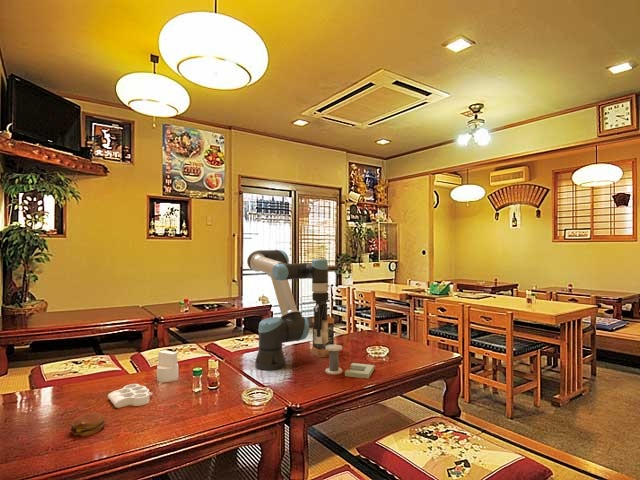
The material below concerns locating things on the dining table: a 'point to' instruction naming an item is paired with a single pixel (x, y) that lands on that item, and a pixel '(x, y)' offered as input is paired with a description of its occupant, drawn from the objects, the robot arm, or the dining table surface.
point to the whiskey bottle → (320, 349)
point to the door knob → (334, 359)
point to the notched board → (360, 374)
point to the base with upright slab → (167, 366)
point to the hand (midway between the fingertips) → (321, 342)
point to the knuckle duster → (130, 396)
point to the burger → (87, 424)
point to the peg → (323, 332)
